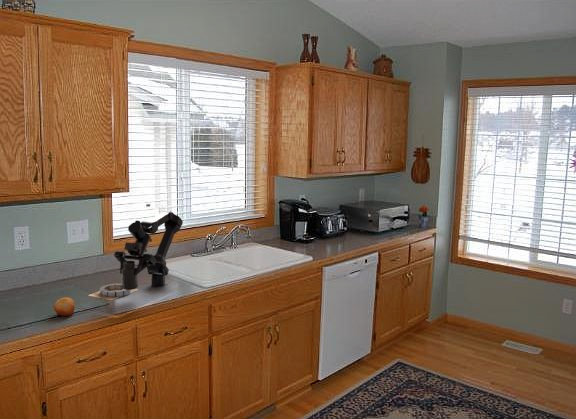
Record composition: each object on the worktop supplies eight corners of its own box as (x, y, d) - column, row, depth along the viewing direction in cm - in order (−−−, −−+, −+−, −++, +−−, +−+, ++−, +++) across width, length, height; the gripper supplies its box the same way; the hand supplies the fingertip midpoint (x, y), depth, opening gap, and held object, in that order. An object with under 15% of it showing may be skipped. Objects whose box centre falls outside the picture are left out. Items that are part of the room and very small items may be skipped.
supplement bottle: (132, 284, 233) (131, 259, 231) (141, 287, 228) (140, 261, 226) (119, 287, 227) (118, 261, 226) (127, 291, 223) (126, 264, 221)
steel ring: (114, 286, 247) (114, 282, 247) (136, 291, 242) (136, 286, 241) (93, 294, 235) (93, 289, 235) (115, 299, 230) (115, 294, 229)
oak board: (116, 286, 250) (116, 285, 250) (138, 291, 244) (138, 289, 244) (87, 296, 234) (87, 295, 234) (111, 302, 228) (111, 300, 228)
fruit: (79, 306, 217) (75, 294, 212) (74, 321, 211) (69, 309, 206) (60, 306, 217) (55, 293, 212) (54, 321, 211) (49, 308, 206)
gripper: (115, 233, 230) (101, 263, 221) (152, 236, 226) (139, 267, 217) (125, 246, 239) (112, 275, 230) (161, 250, 234) (149, 279, 226)
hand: (127, 274), depth 225 cm, fingers closed on supplement bottle, 7 cm apart
